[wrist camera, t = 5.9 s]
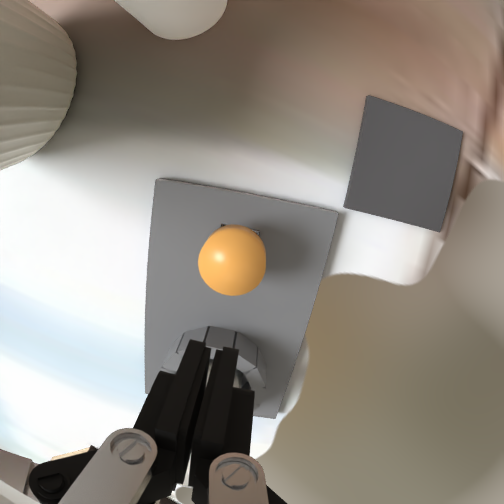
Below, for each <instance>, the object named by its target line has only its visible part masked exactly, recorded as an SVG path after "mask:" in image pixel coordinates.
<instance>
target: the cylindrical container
mask: <svg viewBox="0 0 504 504" xmlns="http://www.w3.org/2000/svg"><path fill="white" fill-rule="evenodd" d="M114 1H115V2H117V3H118V4H119V5H120V6H121V7H123V8H124V9H125V10H126V11H127V12H129V13H130V14H131V15H132V16H133V17H135V18H136V19H137V20H138V21H139V22H140V23H142V24H143V25H144V26H145V27H146V28H147V29H148V30H150V31H151V32H152V33H153V34H155V35H157V36H159V37H161V38H165V39H170V40H181V39H187V38H191V37H194V36H197V35H199V34H202V33H203V32H205V31H207V30H208V29H210V28H211V27H212V26H213V25H214V24H216V23H217V21H218V20H219V19H220V18H221V17H222V15H223V13H224V11H225V9H226V6H227V0H114Z"/></svg>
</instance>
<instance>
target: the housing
mask: <svg viewBox="0 0 504 504" xmlns="http://www.w3.org/2000/svg"><path fill="white" fill-rule="evenodd" d="M337 218H338V213H337V212H336V211H333V210H328V209H324V208H319V207H314V206H310V205H305V204H300V203H295V202H291V201H286V200H281V199H276V198H271V197H266V196H261V195H255V194H250V193H245V192H239V191H234V190H228V189H223V188H217V187H211V186H205V185H199V184H193V183H187V182H181V181H174V180H168V179H161V178H159V179H156V181H155V190H154V198H153V207H152V217H151V227H150V238H149V251H148V265H147V282H146V305H145V393H146V394H149V392H150V390H151V387H152V385H153V383H154V381H155V379H156V377H157V375H158V373H159V371H164V372H168V373H172V374H176V372H177V370H178V367H179V365H180V362H181V360H182V357H183V355H184V352H185V350H186V347H187V345H188V342H189V340H190V339H192V340H196V341H201V342H206V347H209V348H211V355H210V359H214V356H215V352H216V349H218V350H223V346H225V347H230V348H235V349H239V354H238V360H237V366H236V368H237V369H238V370H240V371H241V372H243V375H242V384H241V388H242V389H248V390H254V391H255V398H254V409H253V416H257V417H264V418H272V419H275V418H276V416H277V413H278V410H279V408H280V405H281V402H282V399H283V397H284V394H285V391H286V388H287V385H288V383H289V380H290V377H291V374H292V371H293V368H294V365H295V362H296V359H297V356H298V353H299V350H300V347H301V344H302V341H303V338H304V335H305V332H306V328H307V325H308V321H309V319H310V315H311V312H312V309H313V305H314V302H315V299H316V295H317V292H318V288H319V285H320V282H321V278H322V275H323V271H324V268H325V264H326V260H327V257H328V253H329V249H330V246H331V242H332V238H333V234H334V230H335V226H336V222H337ZM222 224H225V225H242V226H245V227H248V228H250V229H251V230H257V231H260V233H259V237H260V238H261V240H262V241H263V244H264V246H265V250H266V269H265V274H264V277H263V279H262V281H261V282H260V283H259V285H258V286H257V287H256V288H255V289H253V290H252V291H250V292H248V293H246V294H243V295H237V296H229V295H224V294H221V293H218V292H216V291H214V290H213V289H212V288H210V287H209V286H208V285H207V284H206V283H205V281H204V280H203V278H202V277H201V274H200V272H199V267H198V258H199V254H200V251H201V249H202V247H203V246H204V244H205V242H206V241H207V239H208V238H209V236H210V235H211V234H212V233H213V232H214V231H215V230H217V229H218V228H220V227H222Z"/></svg>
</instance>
